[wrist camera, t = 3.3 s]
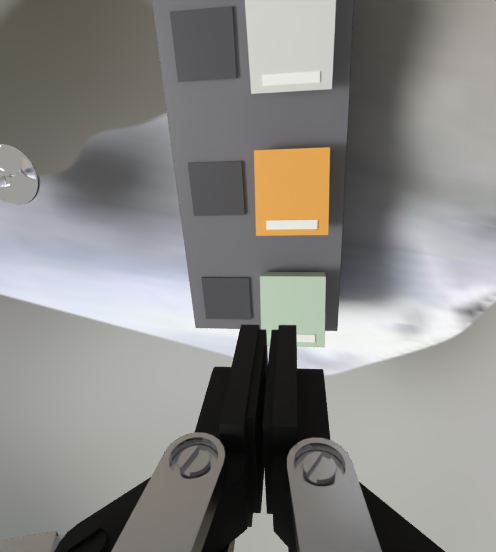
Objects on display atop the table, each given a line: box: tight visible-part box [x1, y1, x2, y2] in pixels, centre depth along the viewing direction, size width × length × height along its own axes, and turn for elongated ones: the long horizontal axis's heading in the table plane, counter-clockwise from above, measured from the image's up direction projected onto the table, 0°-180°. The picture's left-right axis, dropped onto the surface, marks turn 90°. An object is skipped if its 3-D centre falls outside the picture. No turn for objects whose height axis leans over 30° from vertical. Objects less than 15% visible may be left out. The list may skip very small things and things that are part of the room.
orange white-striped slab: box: [254, 147, 330, 236], centre depth 22 cm, size 4×5×1 cm
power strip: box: [152, 0, 354, 331], centre depth 24 cm, size 10×25×4 cm, turn 3°
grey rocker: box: [245, 0, 336, 94], centre depth 19 cm, size 4×5×1 cm
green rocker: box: [260, 272, 326, 347], centre depth 25 cm, size 4×5×1 cm
